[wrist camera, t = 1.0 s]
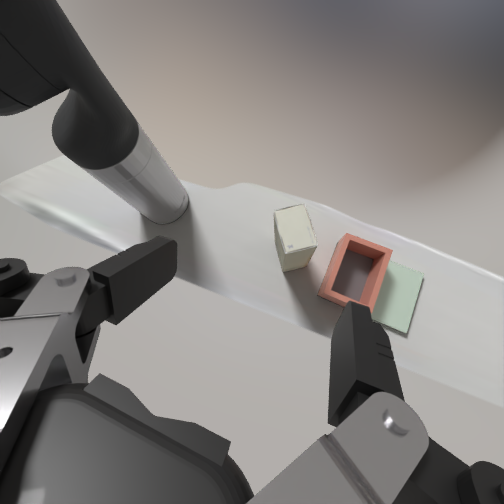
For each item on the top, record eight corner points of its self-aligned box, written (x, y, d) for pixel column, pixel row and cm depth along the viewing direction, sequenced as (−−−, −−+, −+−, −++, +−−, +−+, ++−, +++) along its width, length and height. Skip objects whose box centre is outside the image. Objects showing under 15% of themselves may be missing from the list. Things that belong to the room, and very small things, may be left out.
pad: (365, 316, 37) (367, 316, 36) (383, 260, 39) (386, 259, 38) (403, 332, 36) (406, 333, 35) (420, 274, 38) (424, 273, 37)
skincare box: (306, 267, 40) (320, 247, 28) (281, 272, 40) (285, 255, 28) (296, 233, 41) (306, 201, 30) (272, 239, 41) (272, 209, 30)
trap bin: (317, 295, 38) (323, 292, 33) (337, 242, 40) (346, 232, 35) (359, 313, 37) (371, 313, 32) (377, 258, 39) (392, 250, 34)
